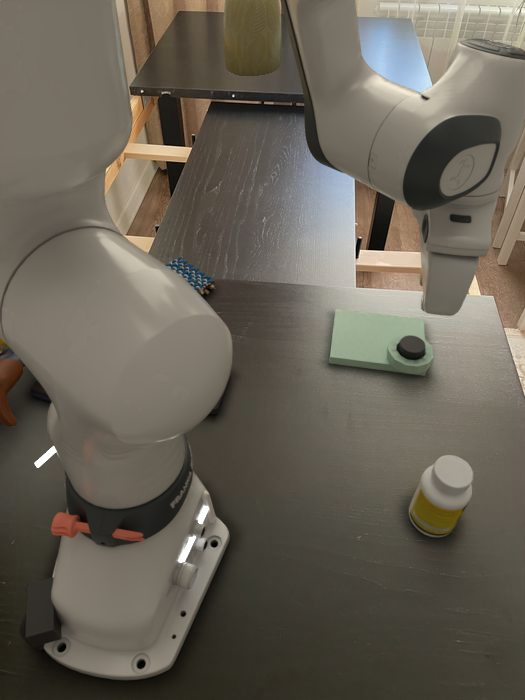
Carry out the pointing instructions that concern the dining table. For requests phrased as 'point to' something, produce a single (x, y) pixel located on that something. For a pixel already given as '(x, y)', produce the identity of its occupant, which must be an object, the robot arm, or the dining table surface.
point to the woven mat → (192, 275)
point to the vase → (252, 36)
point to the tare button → (411, 347)
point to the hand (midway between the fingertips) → (426, 295)
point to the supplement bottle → (441, 496)
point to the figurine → (8, 382)
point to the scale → (377, 342)
